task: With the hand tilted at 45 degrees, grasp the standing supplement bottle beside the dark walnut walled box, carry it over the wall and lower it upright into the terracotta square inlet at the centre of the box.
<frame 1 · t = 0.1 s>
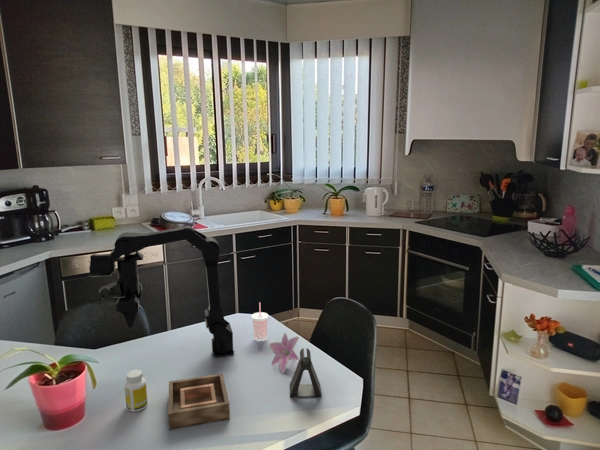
hand: (131, 321, 135), 15 cm above the table, tool pointing down, fingers open, 9 cm apart
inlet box: (198, 407, 116), on the table
phone stand: (305, 392, 123), on the table
lily: (284, 365, 138), on the table
supplement bottle: (137, 407, 116), on the table
beverage cup: (260, 339, 155), on the table
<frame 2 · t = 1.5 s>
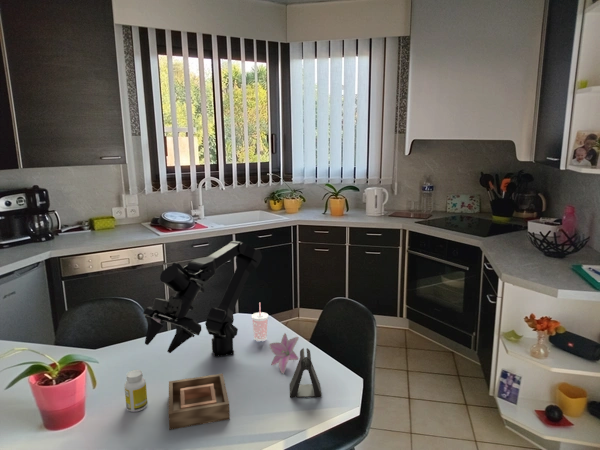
hand: (157, 348, 120), 13 cm above the table, tool tilted 45°, fingers open, 9 cm apart
nothing on the table moved.
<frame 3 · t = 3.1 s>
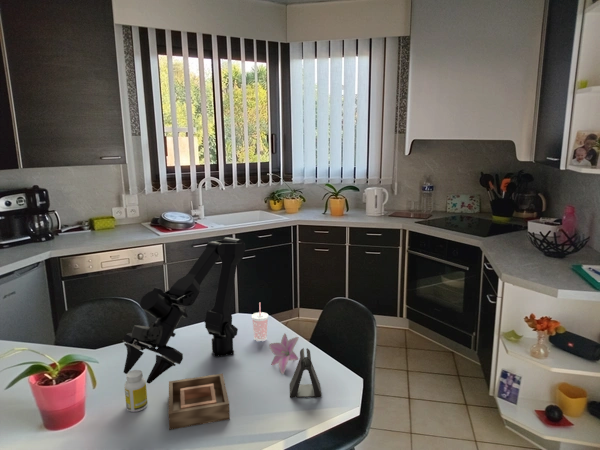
hand: (136, 378, 115), 8 cm above the table, tool tilted 45°, fingers open, 9 cm apart
nothing on the table moved.
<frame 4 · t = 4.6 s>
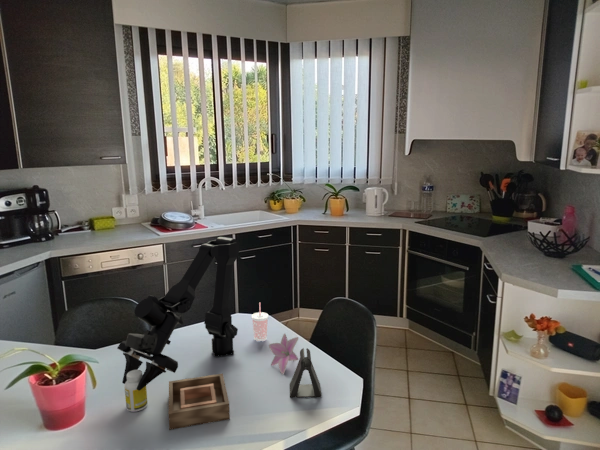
hand: (130, 386, 114), 7 cm above the table, tool tilted 45°, fingers closed on supplement bottle, 5 cm apart
supplement bottle: (137, 406, 116), on the table, touching gripper
everything else where it was.
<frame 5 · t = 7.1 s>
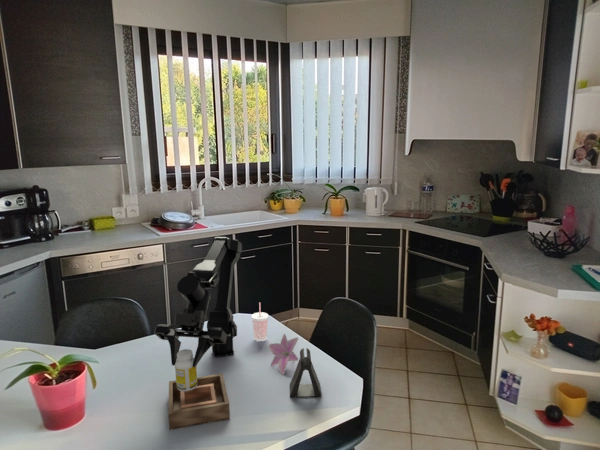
hand: (183, 366, 111), 13 cm above the table, tool tilted 45°, fingers closed on supplement bottle, 5 cm apart
supplement bottle: (187, 386, 114), point 6 cm above the table, touching gripper
everything else where it was.
when the fingers open (8 cm above the table, at t = 9.4 s): supplement bottle stays where it is, resting on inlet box.
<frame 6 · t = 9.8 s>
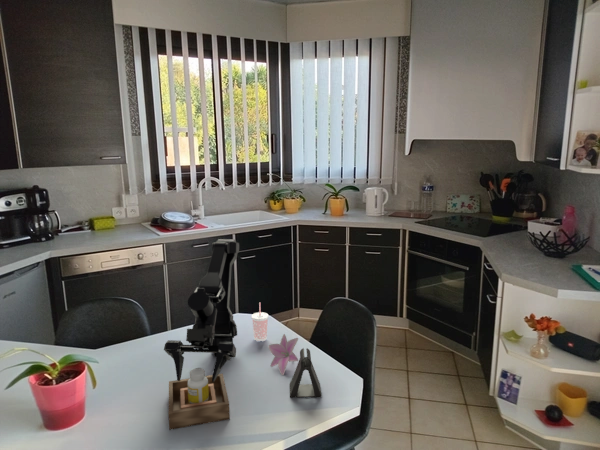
hand: (195, 381, 113), 9 cm above the table, tool tilted 45°, fingers open, 9 cm apart
supplement bottle: (198, 405, 116), resting on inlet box
everything else where it was.
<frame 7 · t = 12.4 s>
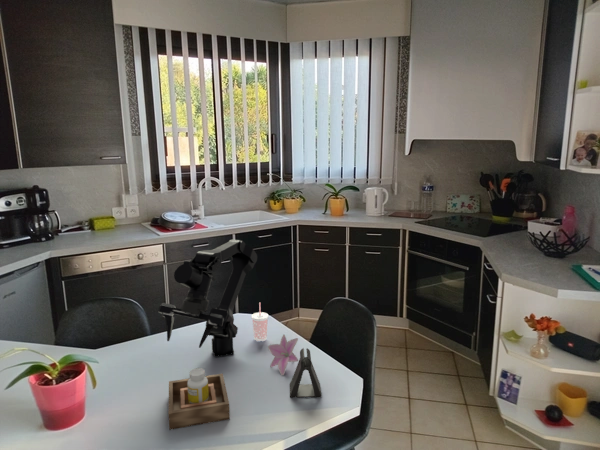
hand: (183, 344, 124), 13 cm above the table, tool tilted 30°, fingers open, 9 cm apart
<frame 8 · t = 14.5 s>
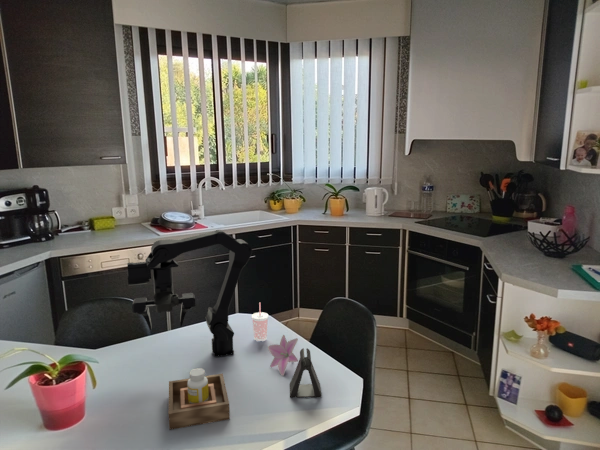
hand: (166, 327, 137), 12 cm above the table, tool pointing down, fingers open, 9 cm apart
at the end: supplement bottle 0.1 cm off-centre on the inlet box, point 0.4 cm above the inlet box's base; supplement bottle tilted 0°; the gripper is holding nothing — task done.
